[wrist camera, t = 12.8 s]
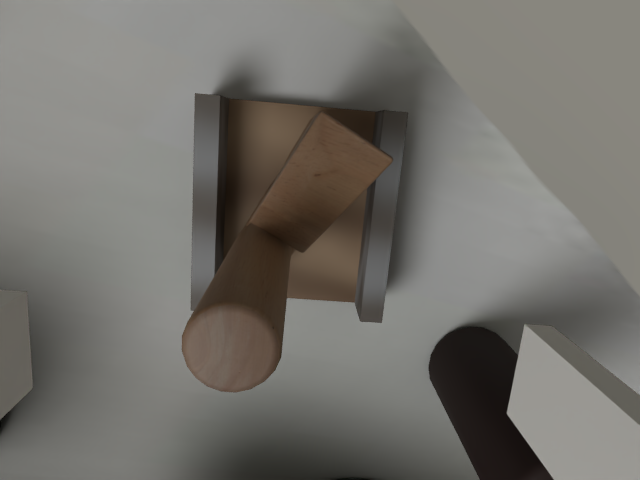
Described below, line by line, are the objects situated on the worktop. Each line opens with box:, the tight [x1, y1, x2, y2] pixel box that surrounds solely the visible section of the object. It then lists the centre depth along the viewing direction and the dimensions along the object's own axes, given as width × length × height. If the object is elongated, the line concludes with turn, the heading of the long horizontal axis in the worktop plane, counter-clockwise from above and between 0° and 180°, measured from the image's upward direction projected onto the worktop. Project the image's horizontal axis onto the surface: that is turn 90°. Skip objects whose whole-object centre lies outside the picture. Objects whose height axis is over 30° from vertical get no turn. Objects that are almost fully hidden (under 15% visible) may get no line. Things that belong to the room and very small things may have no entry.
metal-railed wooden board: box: [191, 93, 408, 323], centre depth 32 cm, size 14×13×4 cm
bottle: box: [429, 327, 554, 480], centre depth 28 cm, size 7×7×20 cm
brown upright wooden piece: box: [182, 111, 393, 392], centre depth 24 cm, size 4×11×18 cm, turn 147°
